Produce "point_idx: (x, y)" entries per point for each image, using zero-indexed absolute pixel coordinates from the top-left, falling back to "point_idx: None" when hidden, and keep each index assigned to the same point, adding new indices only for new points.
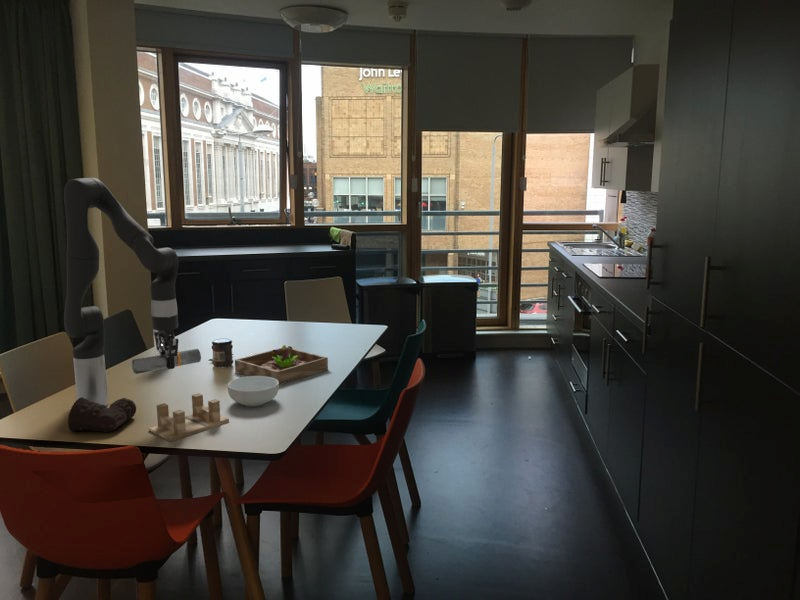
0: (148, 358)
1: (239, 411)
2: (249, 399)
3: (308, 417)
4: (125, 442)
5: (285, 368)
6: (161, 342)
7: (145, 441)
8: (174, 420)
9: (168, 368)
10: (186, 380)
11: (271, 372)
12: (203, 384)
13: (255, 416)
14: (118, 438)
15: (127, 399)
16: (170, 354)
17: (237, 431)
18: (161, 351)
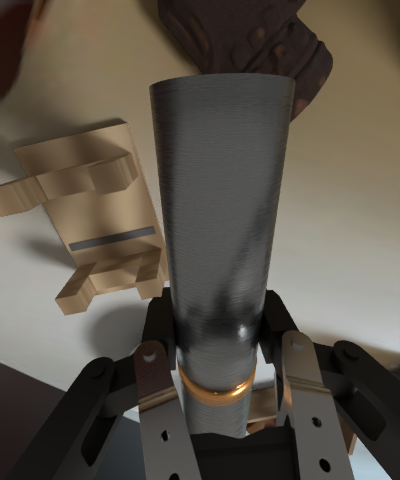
0: (203, 234)
1: (143, 321)
2: (128, 355)
3: (50, 383)
4: (67, 21)
5: (275, 425)
6: (287, 460)
7: (49, 84)
8: (21, 179)
9: (163, 290)
10: (393, 303)
11: (253, 414)
12: (341, 319)
13: (99, 332)
14: (115, 12)
15: (292, 105)
16: (72, 387)
17: (28, 286)
18: (281, 354)
